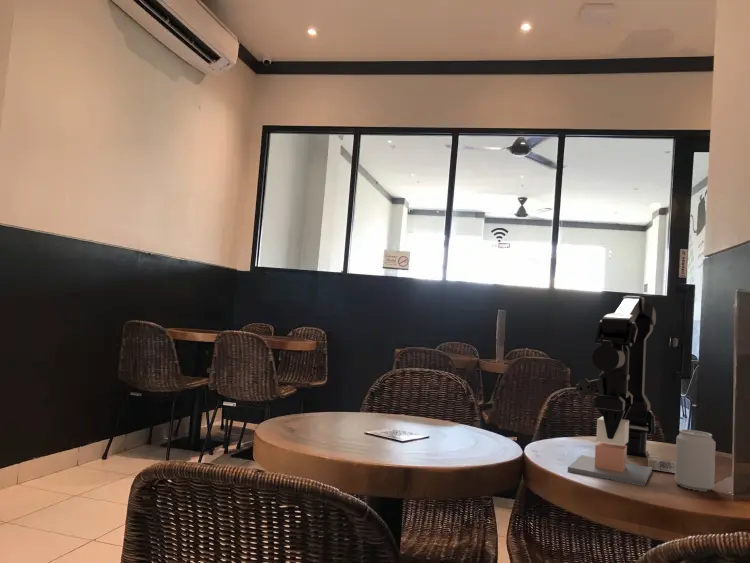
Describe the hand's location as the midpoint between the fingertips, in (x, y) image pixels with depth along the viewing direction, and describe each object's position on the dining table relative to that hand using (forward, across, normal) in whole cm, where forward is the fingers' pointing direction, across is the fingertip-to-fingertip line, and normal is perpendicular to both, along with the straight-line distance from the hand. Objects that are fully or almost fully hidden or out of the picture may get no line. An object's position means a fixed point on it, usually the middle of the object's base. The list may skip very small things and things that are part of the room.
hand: (612, 436), depth 135 cm
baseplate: (+8, 0, 0) cm, 8 cm away
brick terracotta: (+7, 0, 0) cm, 7 cm away
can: (+8, 0, +17) cm, 19 cm away
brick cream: (+1, 0, 0) cm, 1 cm away
